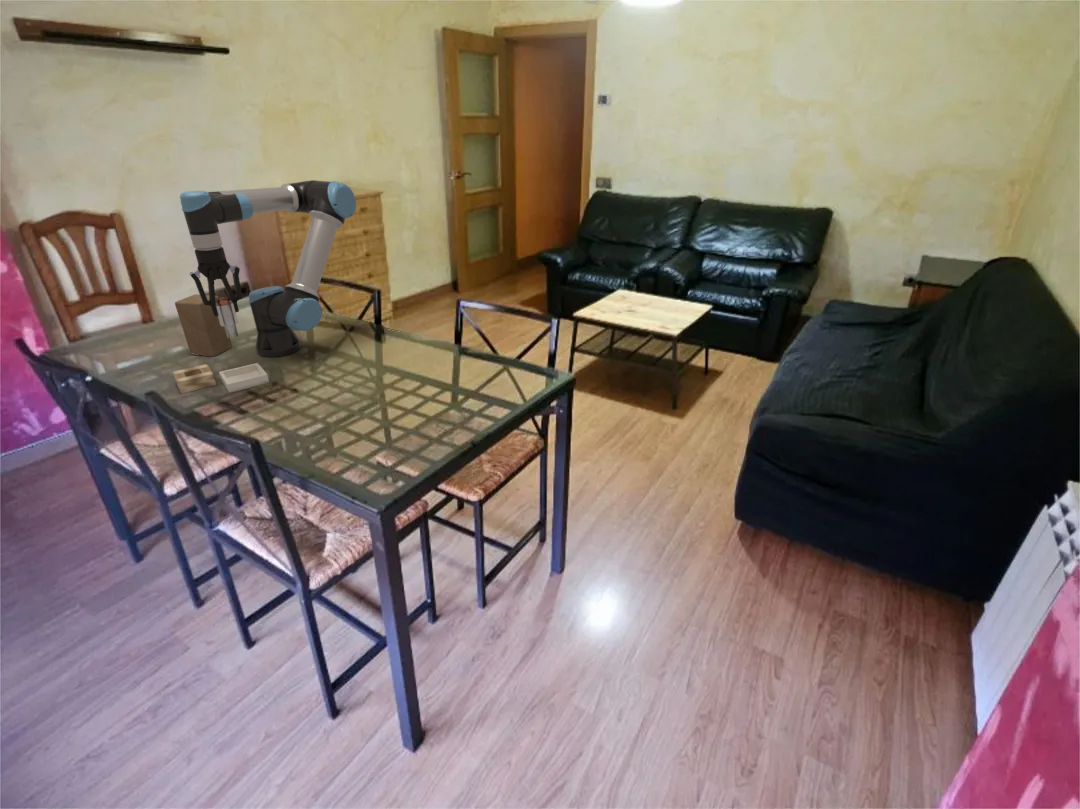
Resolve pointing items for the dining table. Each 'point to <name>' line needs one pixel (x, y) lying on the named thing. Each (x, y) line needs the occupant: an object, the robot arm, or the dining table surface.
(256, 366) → the tray
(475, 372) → the dining table surface
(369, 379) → the dining table surface
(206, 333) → the wooden block
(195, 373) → the block
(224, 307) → the pin
